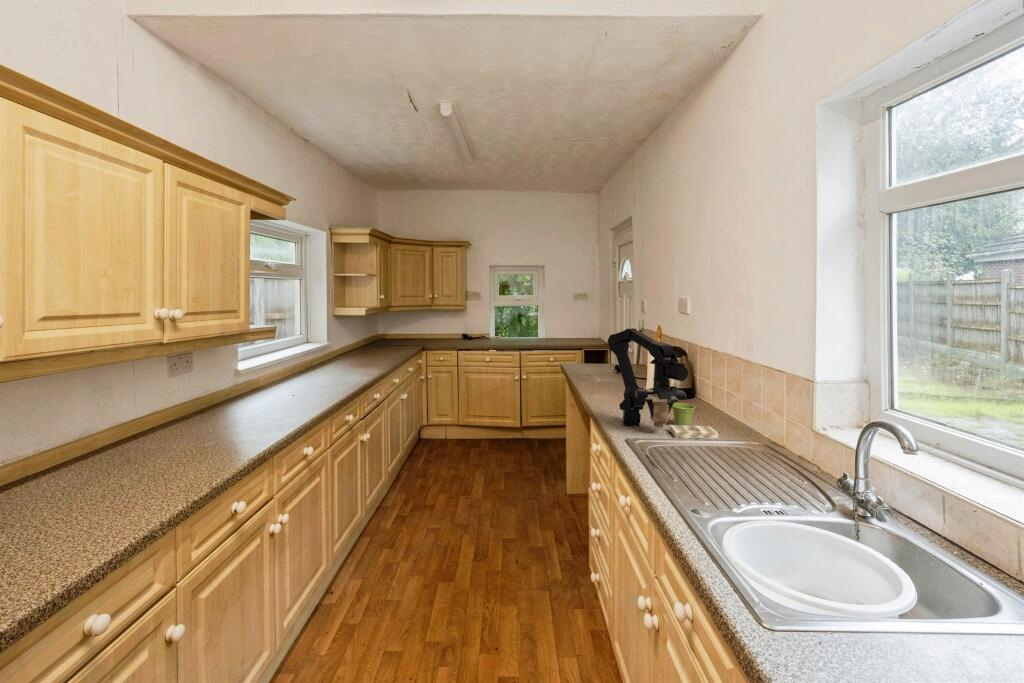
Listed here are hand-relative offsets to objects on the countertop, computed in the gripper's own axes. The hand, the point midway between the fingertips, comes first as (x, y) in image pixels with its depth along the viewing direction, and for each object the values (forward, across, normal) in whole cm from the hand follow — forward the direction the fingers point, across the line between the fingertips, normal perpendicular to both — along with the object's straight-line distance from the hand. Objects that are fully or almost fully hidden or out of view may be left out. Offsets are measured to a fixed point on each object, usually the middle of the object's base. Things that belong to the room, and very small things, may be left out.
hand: (659, 415), depth 196 cm
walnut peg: (+4, 0, 0) cm, 4 cm away
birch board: (+7, +13, 0) cm, 15 cm away
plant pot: (+8, +13, +12) cm, 19 cm away
